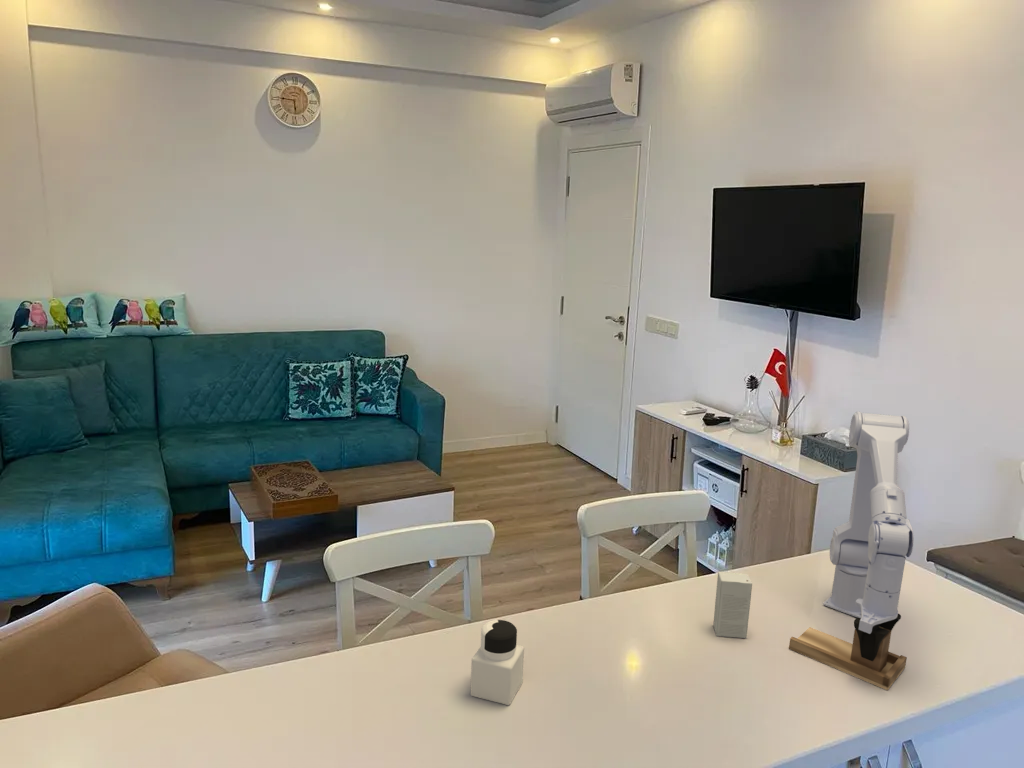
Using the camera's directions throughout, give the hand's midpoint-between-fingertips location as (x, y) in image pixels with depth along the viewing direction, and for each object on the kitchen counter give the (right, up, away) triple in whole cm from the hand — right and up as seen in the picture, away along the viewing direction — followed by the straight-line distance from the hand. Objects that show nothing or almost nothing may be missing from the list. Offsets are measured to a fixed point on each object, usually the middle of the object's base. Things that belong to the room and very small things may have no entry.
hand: (872, 653), depth 138 cm
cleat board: (-3, -2, +4) cm, 5 cm away
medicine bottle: (-69, -3, -10) cm, 70 cm away
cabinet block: (0, -2, +1) cm, 3 cm away
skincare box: (-23, 0, +11) cm, 26 cm away
